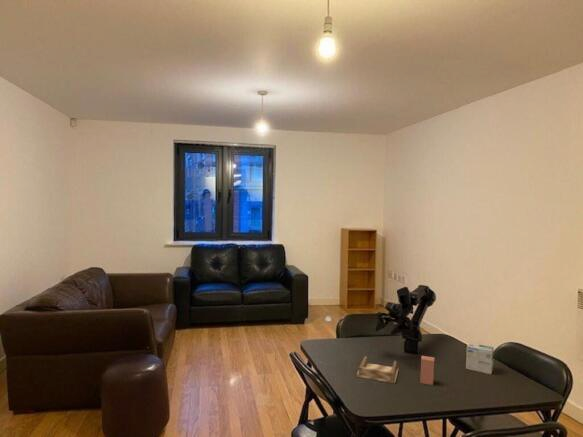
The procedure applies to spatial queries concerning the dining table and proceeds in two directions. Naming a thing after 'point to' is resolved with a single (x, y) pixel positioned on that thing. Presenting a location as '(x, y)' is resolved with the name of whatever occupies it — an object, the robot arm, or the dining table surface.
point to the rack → (378, 371)
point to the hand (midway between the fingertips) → (383, 332)
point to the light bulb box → (479, 358)
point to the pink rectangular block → (427, 370)
